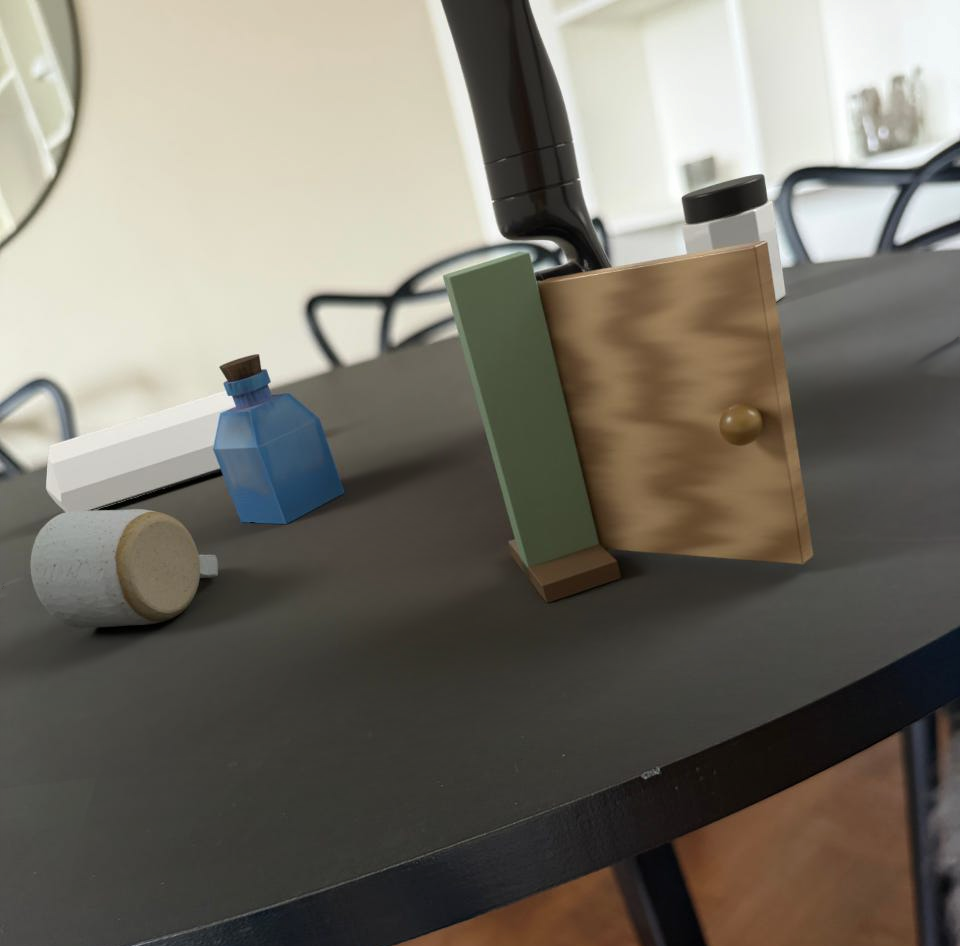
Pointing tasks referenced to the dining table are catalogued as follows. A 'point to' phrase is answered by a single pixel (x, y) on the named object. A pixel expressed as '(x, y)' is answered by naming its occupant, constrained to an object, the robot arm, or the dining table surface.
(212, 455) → the white beveled bar
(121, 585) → the ceramic mug
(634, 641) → the dining table surface
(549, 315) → the door
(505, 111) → the robot arm
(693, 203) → the jar
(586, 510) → the door wall
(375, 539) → the dining table surface
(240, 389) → the perfume bottle
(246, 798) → the dining table surface
